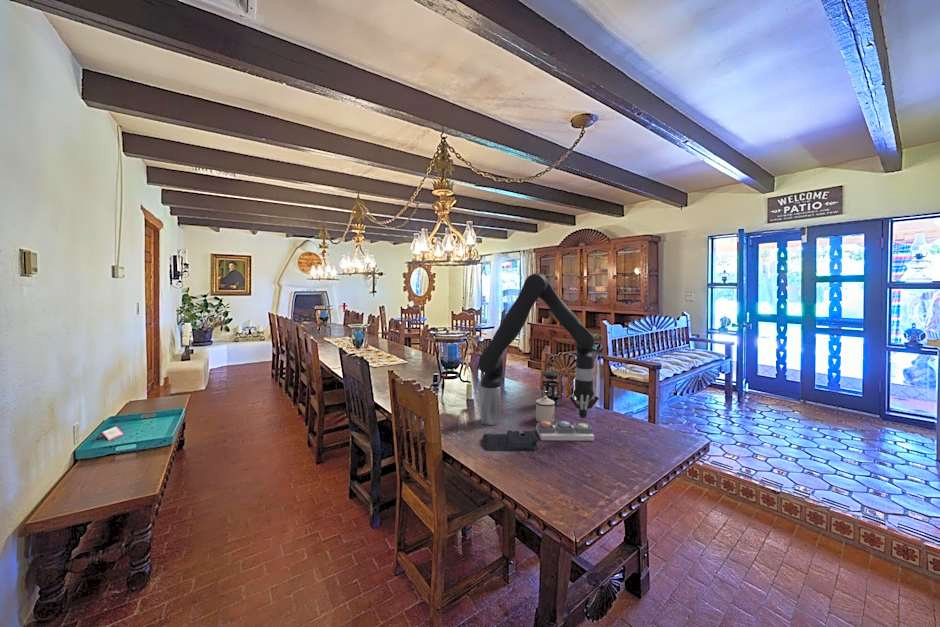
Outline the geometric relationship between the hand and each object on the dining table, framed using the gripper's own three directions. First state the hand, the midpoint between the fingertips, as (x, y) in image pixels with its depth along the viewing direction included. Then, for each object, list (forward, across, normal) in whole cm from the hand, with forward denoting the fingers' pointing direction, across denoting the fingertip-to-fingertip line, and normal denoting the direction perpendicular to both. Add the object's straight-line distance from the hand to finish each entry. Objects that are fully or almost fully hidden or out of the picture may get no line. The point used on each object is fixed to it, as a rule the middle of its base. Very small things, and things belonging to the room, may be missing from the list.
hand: (582, 417), depth 161 cm
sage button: (+5, 0, 0) cm, 5 cm away
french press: (+8, -5, +42) cm, 43 cm away
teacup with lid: (+8, -13, +19) cm, 24 cm away
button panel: (+8, -8, 0) cm, 11 cm away
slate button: (+4, -8, 0) cm, 9 cm away
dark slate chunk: (+8, -32, -9) cm, 35 cm away
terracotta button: (+4, -16, 0) cm, 16 cm away
